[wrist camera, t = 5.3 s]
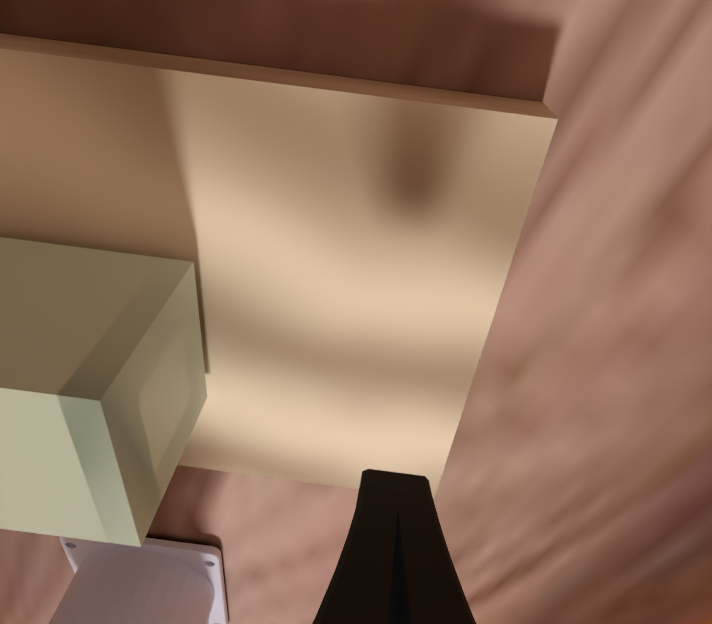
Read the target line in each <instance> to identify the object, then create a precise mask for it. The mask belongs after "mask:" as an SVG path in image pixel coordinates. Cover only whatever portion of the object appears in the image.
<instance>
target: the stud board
mask: <svg viewBox="0 0 712 624" xmlns="http://www.w3.org/2000/svg"><path fill="white" fill-rule="evenodd" d="M557 121H558V119H557V117H556V116H555V115H554V114H553V113H552V112H551V111H550V110H549V109H548V107H547V106H546V105H545V104H544V103H543V102H538V101H530V100H522V99H514V98H506V97H499V96H491V95H483V94H475V93H467V92H459V91H451V90H443V89H436V88H428V87H420V86H412V85H404V84H396V83H388V82H380V81H373V80H365V79H357V78H349V77H341V76H333V75H325V74H317V73H309V72H302V71H294V70H286V69H278V68H270V67H262V66H254V65H246V64H239V63H231V62H223V61H215V60H207V59H199V58H191V57H183V56H176V55H168V54H160V53H152V52H144V51H136V50H128V49H120V48H112V47H105V46H97V45H89V44H81V43H73V42H65V41H57V40H49V39H42V38H34V37H26V36H18V35H10V34H2V33H0V237H4V238H12V239H19V240H27V241H35V242H43V243H50V244H58V245H66V246H74V247H81V248H89V249H97V250H105V251H112V252H120V253H128V254H136V255H143V256H151V257H159V258H167V259H174V260H182V261H190V262H194V271H195V281H196V290H197V300H198V310H199V320H200V329H201V339H202V349H203V359H204V369H205V378H206V388H207V399H206V401H205V403H204V406H203V408H202V410H201V412H200V415H199V417H198V419H197V421H196V424H195V426H194V428H193V431H192V433H191V435H190V437H189V440H188V442H187V444H186V446H185V449H184V451H183V453H182V455H181V458H180V460H179V462H178V465H179V466H187V467H195V468H202V469H210V470H218V471H225V472H233V473H241V474H248V475H256V476H264V477H271V478H279V479H286V480H294V481H302V482H309V483H317V484H325V485H332V486H340V487H348V488H355V489H359V487H360V481H361V475H362V471H364V470H366V469H374V470H382V471H390V472H397V473H405V474H413V475H421V476H425V477H426V478H427V479H428V480H429V483H430V488H431V492H432V497H433V499H434V497H435V494H436V491H437V488H438V485H439V482H440V479H441V476H442V473H443V469H444V466H445V463H446V460H447V457H448V454H449V451H450V448H451V445H452V442H453V439H454V436H455V433H456V430H457V427H458V424H459V421H460V417H461V414H462V411H463V408H464V405H465V402H466V399H467V396H468V393H469V390H470V387H471V384H472V381H473V378H474V375H475V372H476V369H477V366H478V362H479V359H480V356H481V353H482V350H483V347H484V344H485V341H486V338H487V335H488V332H489V329H490V326H491V323H492V320H493V317H494V314H495V310H496V307H497V304H498V301H499V298H500V295H501V292H502V289H503V286H504V283H505V280H506V277H507V274H508V271H509V268H510V265H511V262H512V259H513V255H514V252H515V249H516V246H517V243H518V240H519V237H520V234H521V231H522V228H523V225H524V222H525V219H526V216H527V213H528V210H529V207H530V203H531V200H532V197H533V194H534V191H535V188H536V185H537V182H538V179H539V176H540V173H541V170H542V167H543V164H544V161H545V158H546V155H547V151H548V148H549V145H550V142H551V139H552V136H553V133H554V130H555V127H556V124H557Z"/></svg>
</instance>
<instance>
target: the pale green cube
mask: <svg viewBox="0 0 712 624" xmlns="http://www.w3.org/2000/svg"><path fill="white" fill-rule="evenodd" d="M206 399H207V388H206V378H205V369H204V359H203V349H202V339H201V329H200V320H199V310H198V300H197V290H196V281H195V271H194V262H190V261H182V260H174V259H167V258H159V257H151V256H143V255H136V254H128V253H120V252H112V251H105V250H97V249H89V248H81V247H74V246H66V245H58V244H50V243H43V242H35V241H27V240H19V239H12V238H4V237H0V528H1V529H8V530H16V531H24V532H31V533H39V534H46V535H54V536H61V537H69V538H77V539H84V540H92V541H99V542H107V543H115V544H122V545H130V546H137V547H141V546H142V544H143V542H144V539H145V537H146V535H147V532H148V530H149V528H150V526H151V523H152V521H153V519H154V517H155V514H156V512H157V510H158V508H159V505H160V503H161V501H162V499H163V496H164V494H165V492H166V489H167V487H168V485H169V483H170V480H171V478H172V476H173V474H174V471H175V469H176V467H177V465H178V462H179V460H180V458H181V455H182V453H183V451H184V449H185V446H186V444H187V442H188V440H189V437H190V435H191V433H192V431H193V428H194V426H195V424H196V421H197V419H198V417H199V415H200V412H201V410H202V408H203V406H204V403H205V401H206Z"/></svg>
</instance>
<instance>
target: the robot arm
mask: <svg viewBox="0 0 712 624" xmlns="http://www.w3.org/2000/svg"><path fill="white" fill-rule="evenodd" d="M59 539H60V541H61V544H62V546H63V548H64V550H65V552H66V555H67V557H68V559H69V561H70V563H71V566H72V568H73V570H74V572H75V575H74V577H73V579H72V581H71V583H70V585H69V587H68V589H67V590H66V592H65V594H64V596H63V598H62V600H61V602H60V604H59V606H58V607H57V609H56V611H55V613H54V615H53V617H52V619H51V621H50V623H49V624H229V623H228V614H227V605H226V595H225V586H224V577H223V567H222V558H221V552H220V550H219V549H218V548H216V547H213V546H207V545H199V544H192V543H184V542H177V541H169V540H161V539H154V538H146V537H145V539H144V542H143V544H142V546H141V547H137V546H130V545H122V544H115V543H107V542H99V541H92V540H84V539H77V538H69V537H61V536H59ZM313 624H476V622H475V620H474V617H473V615H472V613H471V610H470V608H469V605H468V603H467V600H466V597H465V595H464V592H463V590H462V587H461V584H460V581H459V579H458V576H457V573H456V571H455V568H454V565H453V562H452V560H451V557H450V554H449V551H448V548H447V545H446V542H445V539H444V535H443V532H442V529H441V526H440V523H439V519H438V516H437V512H436V508H435V505H434V501H433V497H432V492H431V488H430V483H429V480H428V479H427V478H426V477H425V476H421V475H413V474H405V473H397V472H390V471H382V470H374V469H366V470H364V471H362V475H361V481H360V487H359V492H358V498H357V504H356V509H355V513H354V517H353V520H352V523H351V527H350V530H349V533H348V536H347V539H346V542H345V544H344V547H343V550H342V553H341V556H340V559H339V561H338V564H337V567H336V569H335V572H334V575H333V577H332V579H331V582H330V584H329V587H328V589H327V591H326V594H325V596H324V598H323V601H322V603H321V605H320V608H319V610H318V613H317V615H316V617H315V619H314V621H313Z"/></svg>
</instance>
